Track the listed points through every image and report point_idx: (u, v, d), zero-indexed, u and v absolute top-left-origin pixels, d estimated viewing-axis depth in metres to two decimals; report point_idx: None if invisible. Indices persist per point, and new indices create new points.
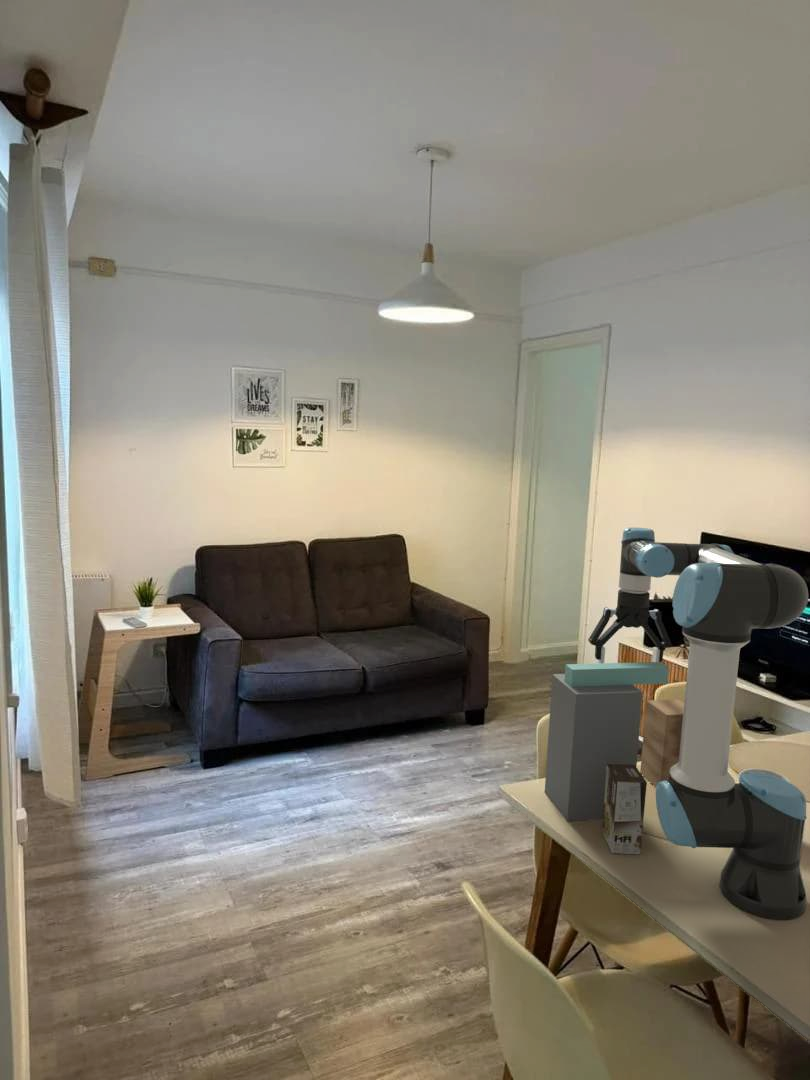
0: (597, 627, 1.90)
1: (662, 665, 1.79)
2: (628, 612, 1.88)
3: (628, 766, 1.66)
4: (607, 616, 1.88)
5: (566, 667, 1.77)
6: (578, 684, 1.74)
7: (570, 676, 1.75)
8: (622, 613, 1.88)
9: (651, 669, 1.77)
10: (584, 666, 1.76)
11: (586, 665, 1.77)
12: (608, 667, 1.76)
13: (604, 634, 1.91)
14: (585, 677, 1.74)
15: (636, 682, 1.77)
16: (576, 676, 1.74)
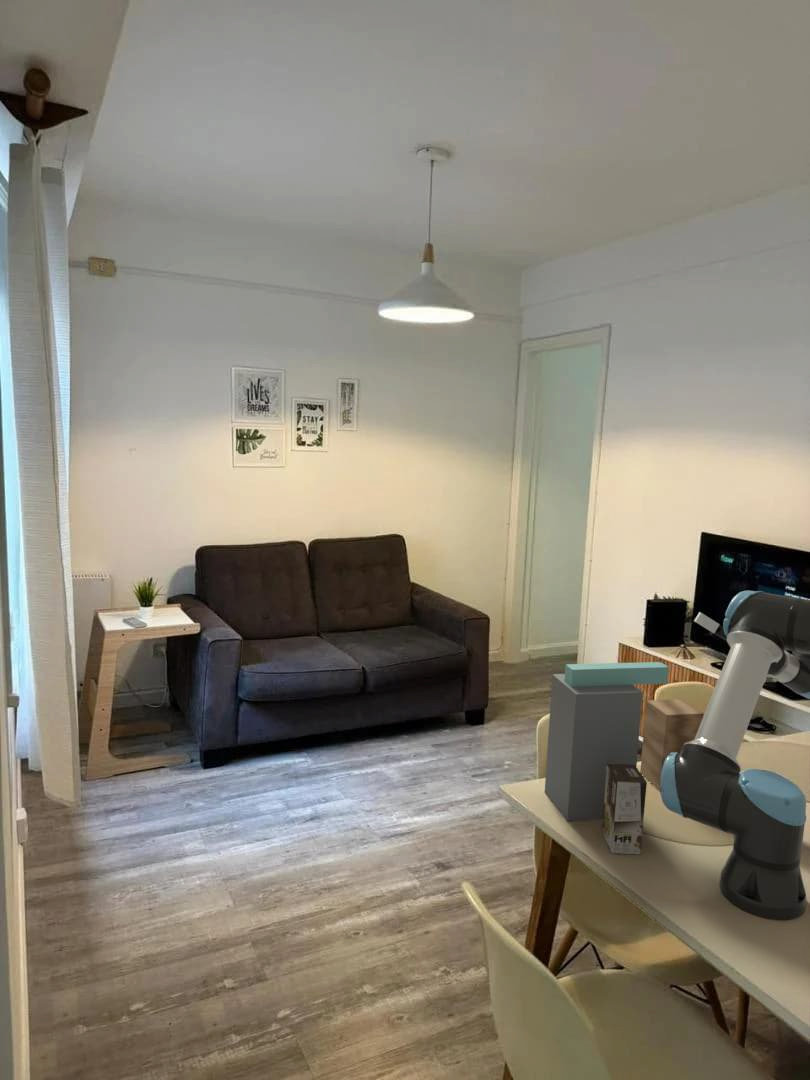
0: None
1: (662, 665, 1.79)
2: None
3: (628, 766, 1.66)
4: None
5: (566, 667, 1.77)
6: (578, 684, 1.74)
7: (570, 676, 1.75)
8: None
9: (651, 669, 1.77)
10: (584, 666, 1.76)
11: (586, 665, 1.77)
12: (608, 667, 1.76)
13: None
14: (585, 677, 1.74)
15: (636, 682, 1.77)
16: (576, 676, 1.74)
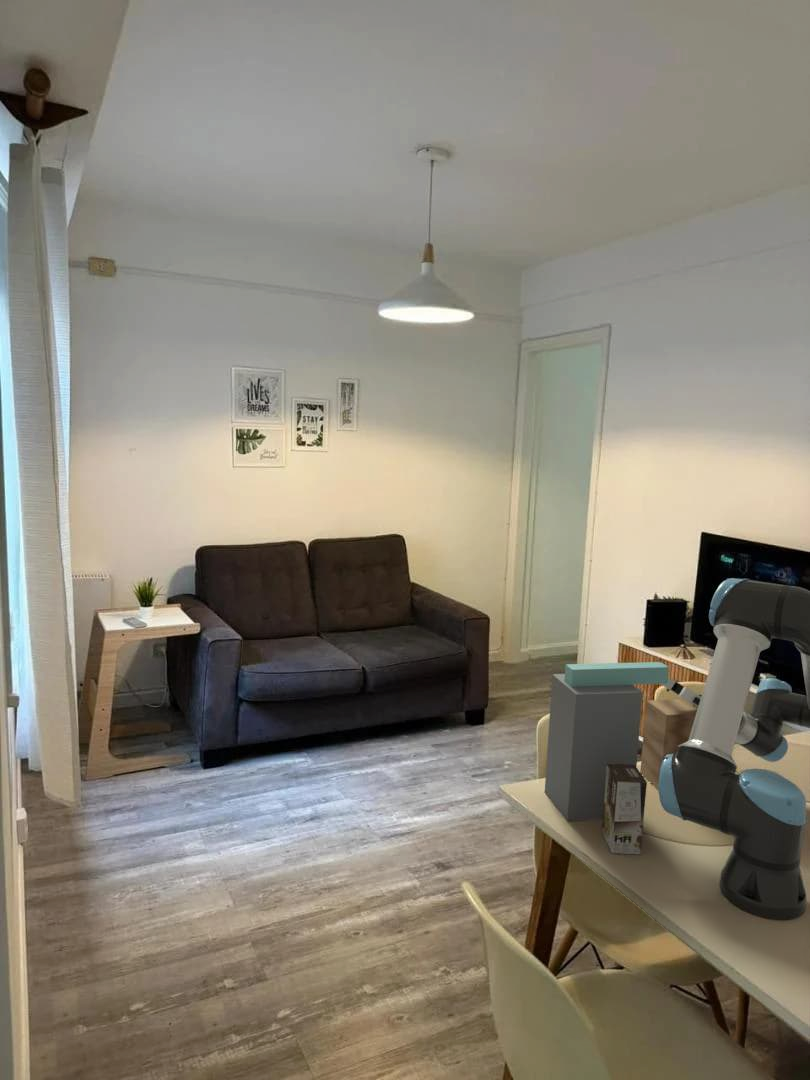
0: None
1: (662, 665, 1.79)
2: None
3: (628, 766, 1.66)
4: None
5: (566, 667, 1.77)
6: (578, 684, 1.74)
7: (570, 676, 1.75)
8: None
9: (651, 669, 1.77)
10: (584, 666, 1.76)
11: (586, 665, 1.77)
12: (608, 667, 1.76)
13: None
14: (585, 677, 1.74)
15: (636, 682, 1.77)
16: (576, 676, 1.74)
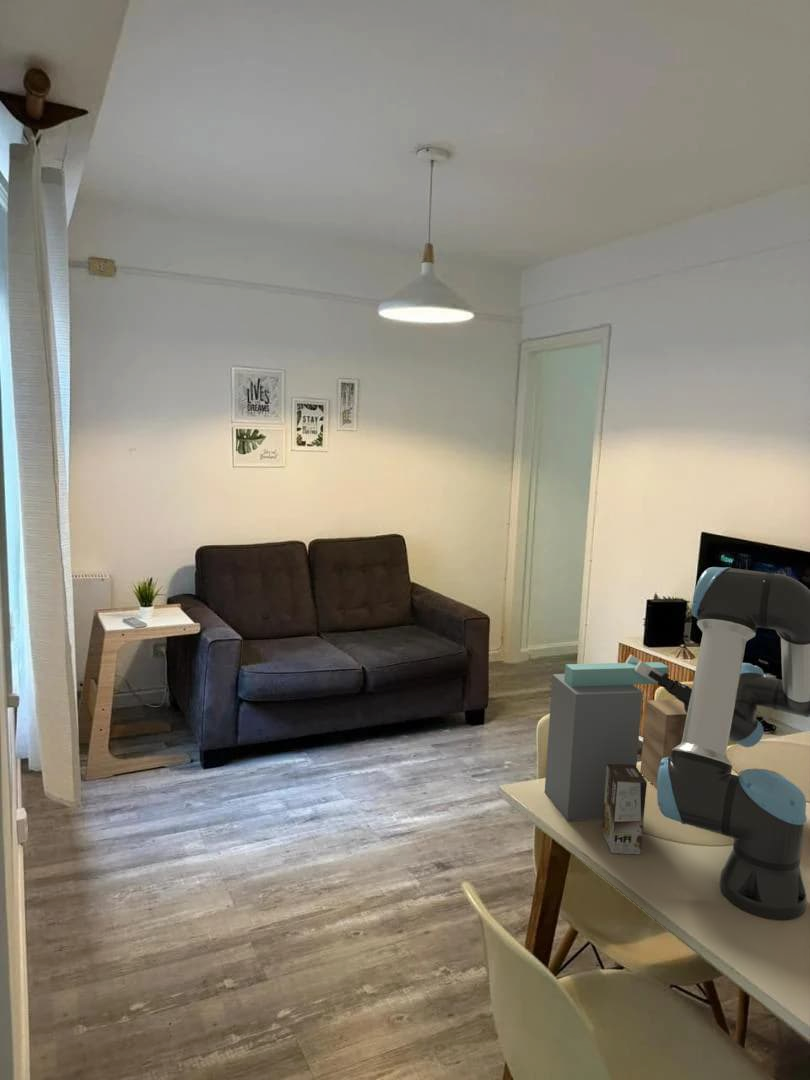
0: None
1: (662, 665, 1.79)
2: None
3: (628, 766, 1.66)
4: None
5: (566, 667, 1.77)
6: (578, 684, 1.74)
7: (570, 676, 1.75)
8: None
9: None
10: (584, 666, 1.76)
11: (586, 665, 1.77)
12: (608, 667, 1.76)
13: None
14: (585, 677, 1.74)
15: (636, 682, 1.77)
16: (576, 676, 1.74)
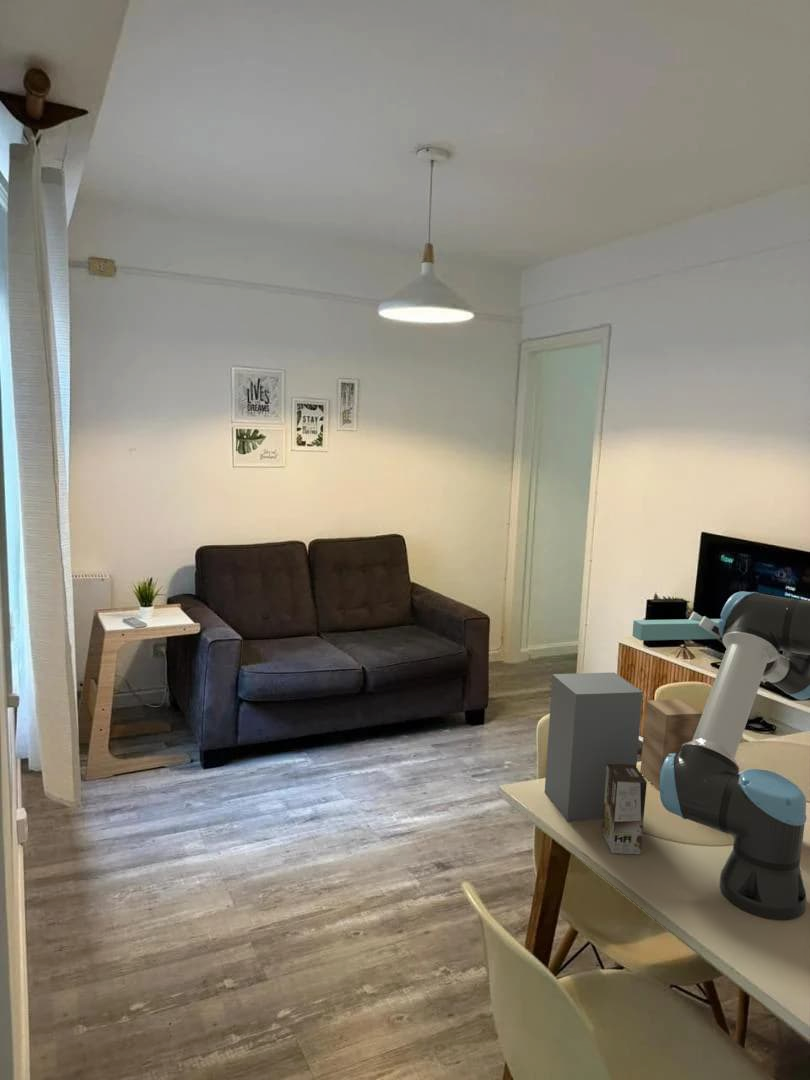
0: None
1: None
2: None
3: (628, 766, 1.66)
4: None
5: (634, 623, 1.88)
6: (647, 638, 1.85)
7: (639, 630, 1.86)
8: None
9: None
10: (651, 622, 1.87)
11: (653, 621, 1.88)
12: (674, 622, 1.87)
13: None
14: (653, 632, 1.85)
15: (700, 637, 1.88)
16: (645, 630, 1.85)
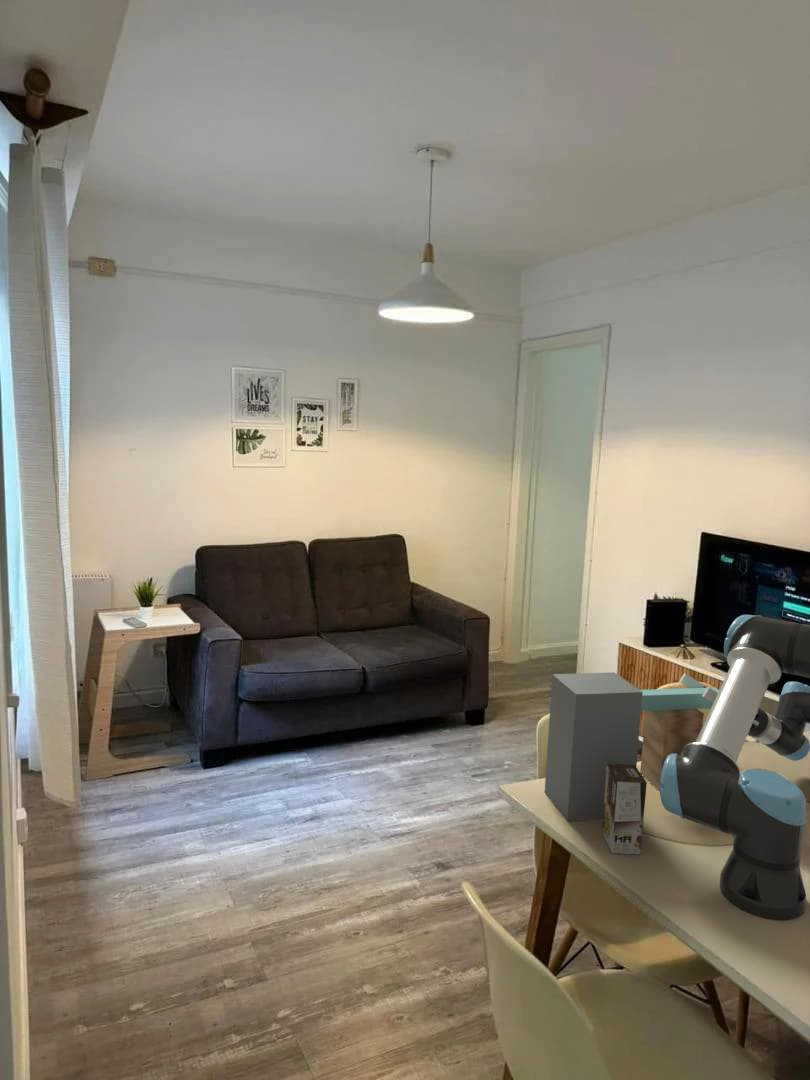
0: None
1: (717, 691, 1.93)
2: None
3: (628, 766, 1.66)
4: None
5: None
6: (641, 709, 1.88)
7: None
8: None
9: None
10: (645, 692, 1.90)
11: (647, 691, 1.91)
12: (668, 693, 1.90)
13: None
14: (648, 703, 1.88)
15: (694, 707, 1.91)
16: None
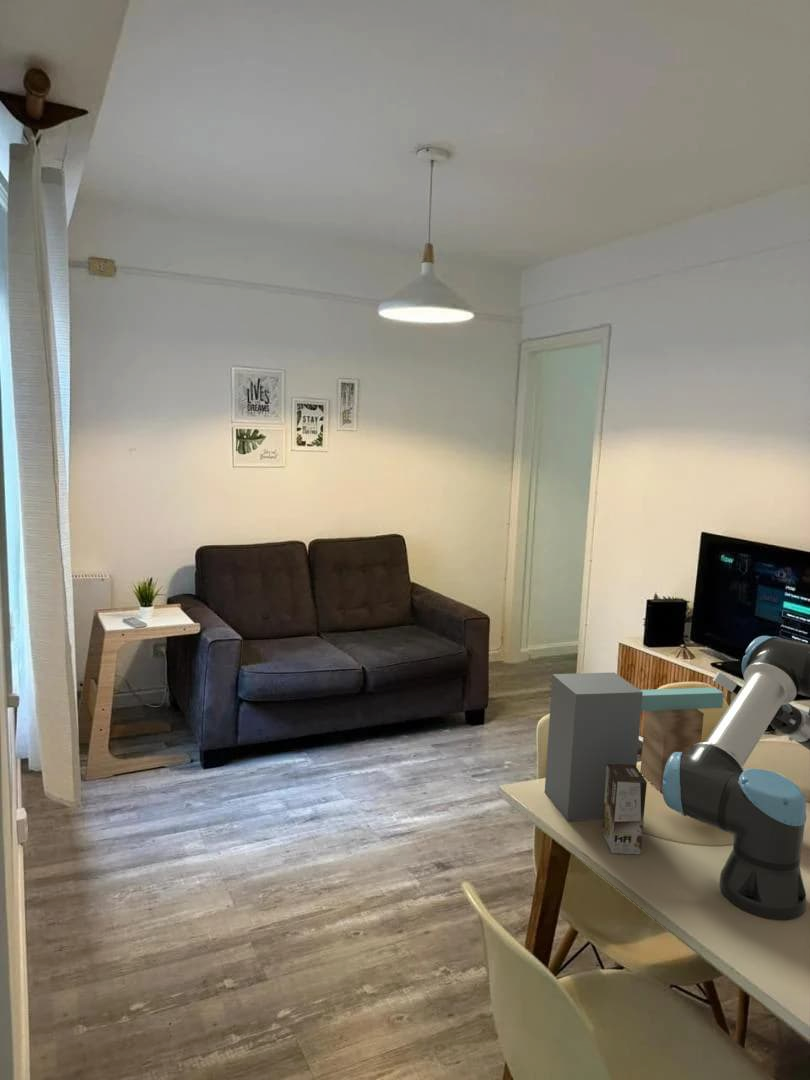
0: None
1: (717, 691, 1.93)
2: None
3: (628, 766, 1.66)
4: None
5: None
6: (641, 709, 1.88)
7: None
8: None
9: (708, 695, 1.91)
10: (645, 692, 1.90)
11: (647, 691, 1.91)
12: (668, 693, 1.90)
13: None
14: (648, 703, 1.88)
15: (694, 707, 1.91)
16: None
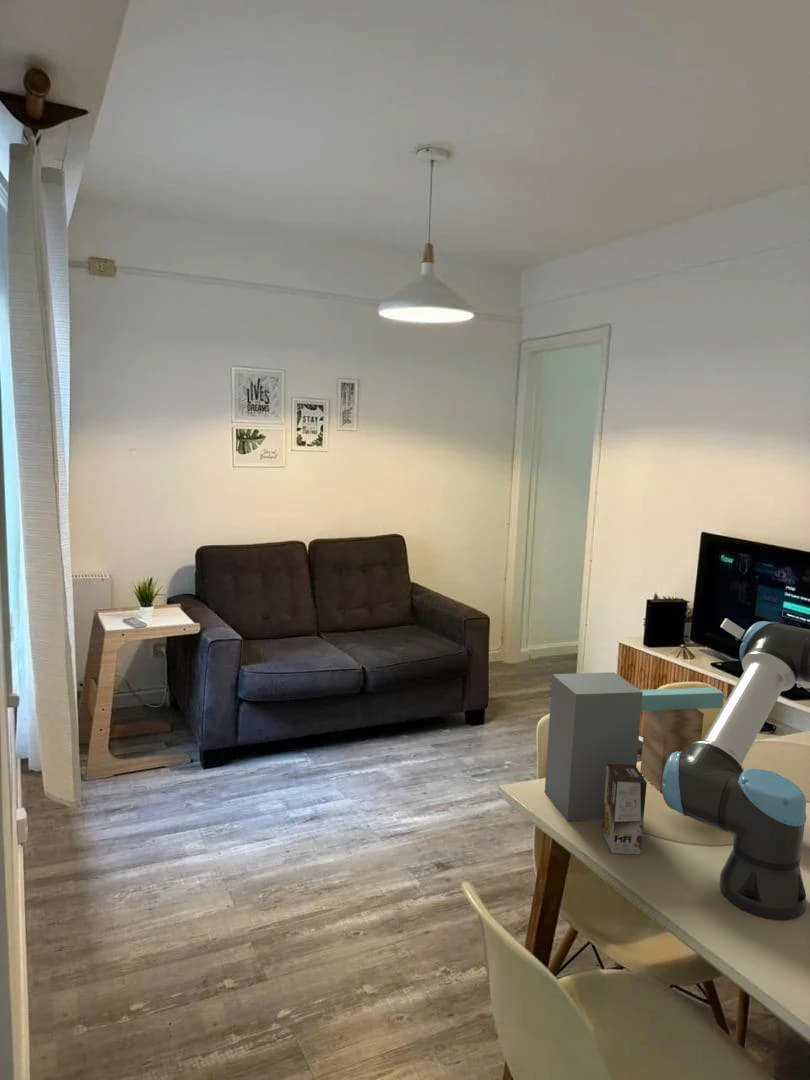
0: None
1: (717, 691, 1.93)
2: None
3: (628, 766, 1.66)
4: None
5: None
6: (641, 709, 1.88)
7: None
8: None
9: (708, 695, 1.91)
10: (645, 692, 1.90)
11: (647, 691, 1.91)
12: (668, 693, 1.90)
13: None
14: (648, 703, 1.88)
15: (694, 707, 1.91)
16: None
